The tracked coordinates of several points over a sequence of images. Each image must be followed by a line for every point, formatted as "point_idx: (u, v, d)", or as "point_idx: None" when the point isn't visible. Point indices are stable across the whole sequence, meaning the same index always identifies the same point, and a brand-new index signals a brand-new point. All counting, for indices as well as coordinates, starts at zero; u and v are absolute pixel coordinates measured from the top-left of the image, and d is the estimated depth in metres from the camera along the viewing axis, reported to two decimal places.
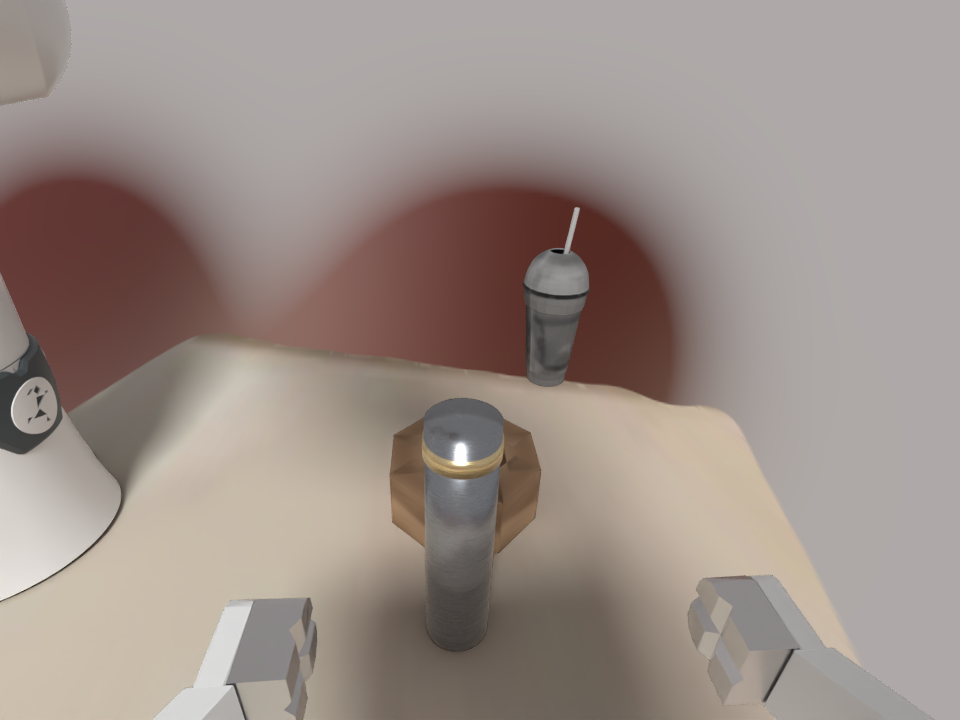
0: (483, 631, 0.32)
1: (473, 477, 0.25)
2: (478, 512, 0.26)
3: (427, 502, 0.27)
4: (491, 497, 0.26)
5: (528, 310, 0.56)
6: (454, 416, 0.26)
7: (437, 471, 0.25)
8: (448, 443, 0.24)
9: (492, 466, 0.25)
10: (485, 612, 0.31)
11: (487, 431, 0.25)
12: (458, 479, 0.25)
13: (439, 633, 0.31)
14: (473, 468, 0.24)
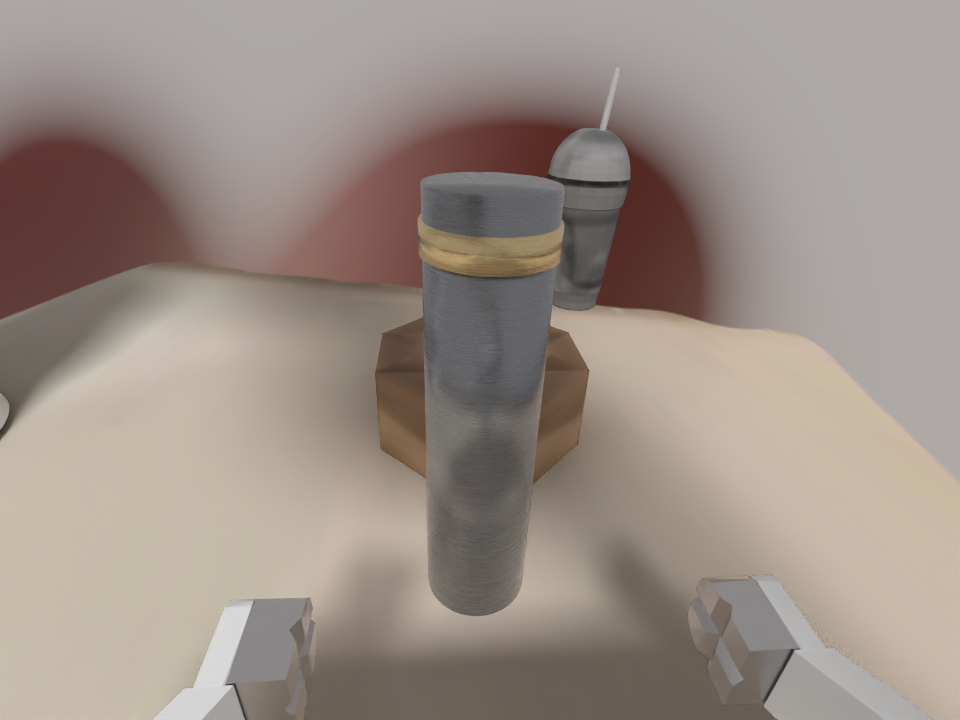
0: (517, 585, 0.21)
1: (512, 272, 0.13)
2: (518, 355, 0.15)
3: (428, 347, 0.16)
4: (541, 331, 0.15)
5: None
6: (475, 180, 0.14)
7: (446, 265, 0.14)
8: (467, 196, 0.13)
9: (546, 258, 0.14)
10: (521, 553, 0.20)
11: (538, 190, 0.13)
12: (486, 278, 0.13)
13: (449, 586, 0.20)
14: (514, 255, 0.13)
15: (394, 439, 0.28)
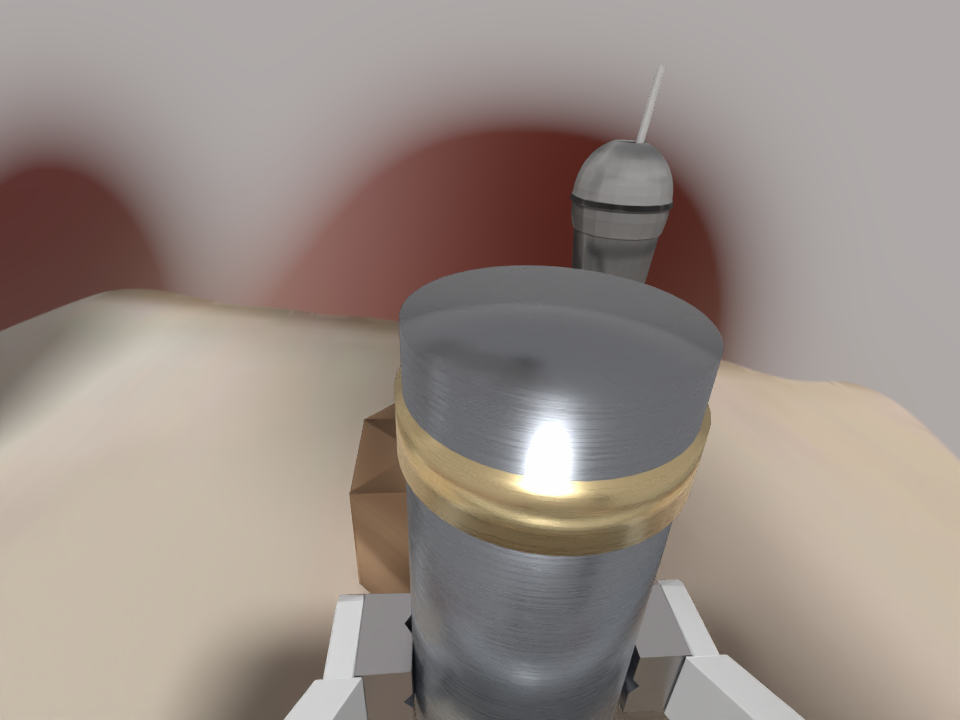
0: None
1: (610, 545, 0.06)
2: (603, 660, 0.07)
3: (418, 612, 0.08)
4: (647, 600, 0.07)
5: (578, 237, 0.37)
6: (518, 304, 0.07)
7: (456, 519, 0.06)
8: (513, 392, 0.05)
9: (682, 496, 0.06)
10: None
11: (669, 348, 0.06)
12: (549, 553, 0.06)
13: None
14: (617, 509, 0.06)
15: (377, 579, 0.20)
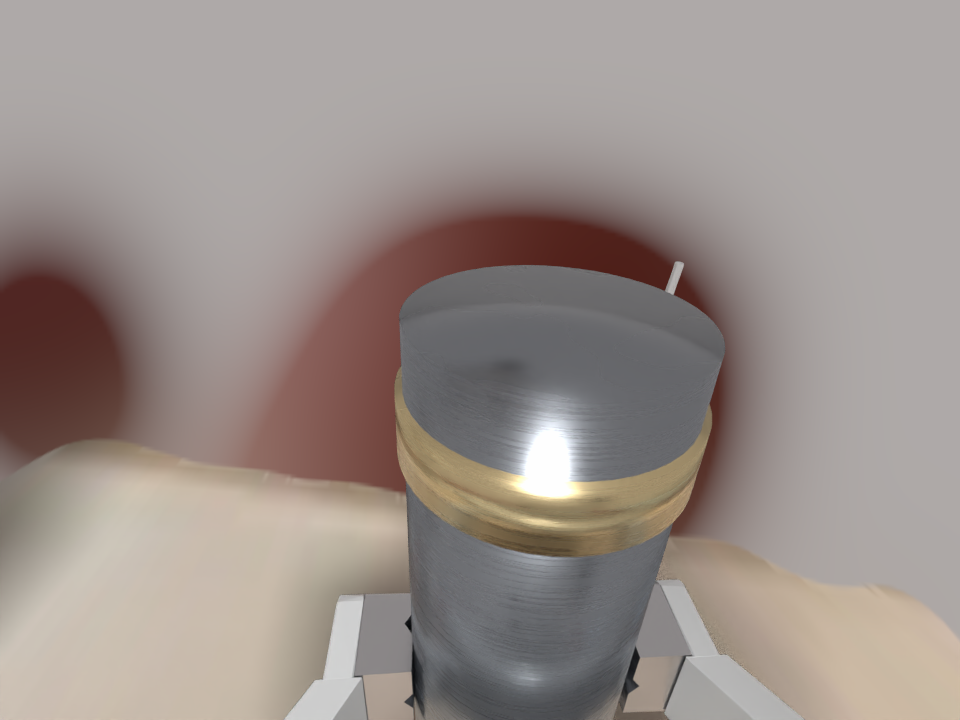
0: None
1: (612, 547, 0.06)
2: (603, 661, 0.07)
3: (418, 613, 0.08)
4: (647, 601, 0.07)
5: None
6: (518, 304, 0.07)
7: (456, 520, 0.06)
8: (513, 392, 0.05)
9: (683, 497, 0.06)
10: None
11: (670, 349, 0.06)
12: (549, 554, 0.06)
13: None
14: (618, 510, 0.06)
15: None
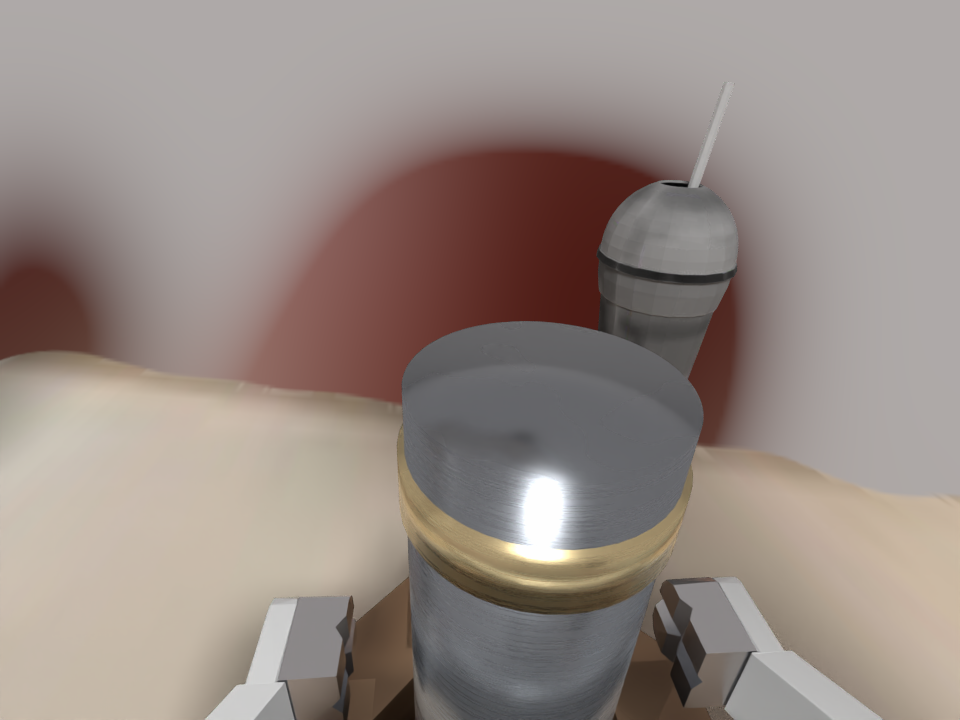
0: None
1: (597, 604, 0.06)
2: (593, 701, 0.08)
3: (419, 651, 0.08)
4: (634, 643, 0.08)
5: (608, 308, 0.28)
6: (513, 369, 0.07)
7: (454, 578, 0.06)
8: (506, 473, 0.05)
9: (664, 555, 0.07)
10: None
11: (652, 421, 0.06)
12: (541, 611, 0.06)
13: None
14: (603, 572, 0.06)
15: None
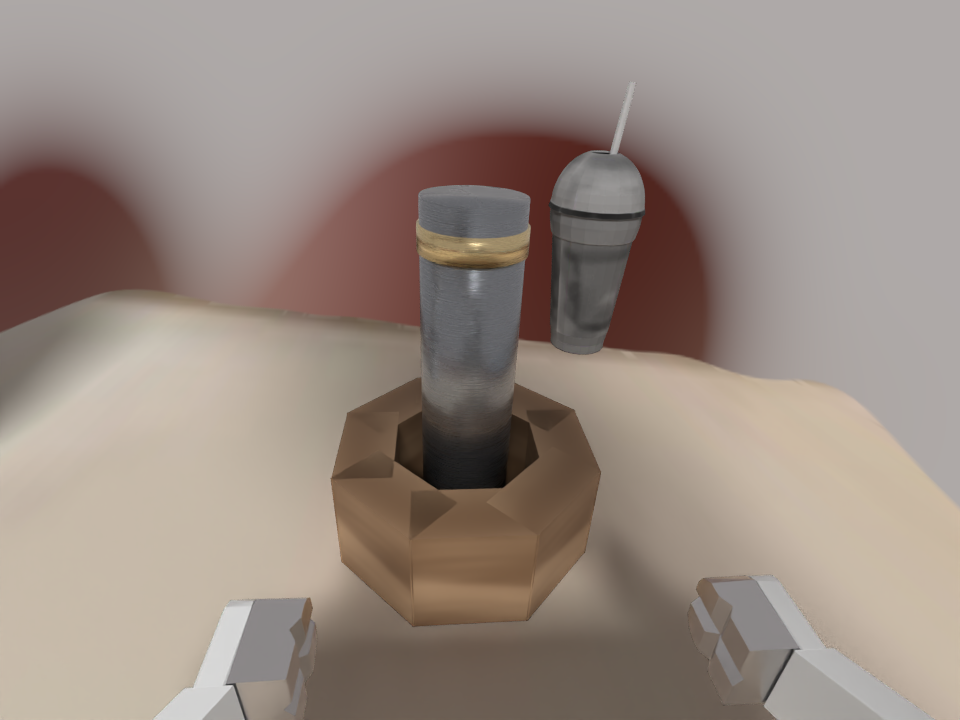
0: None
1: (488, 265, 0.17)
2: (494, 330, 0.19)
3: (424, 324, 0.20)
4: (512, 312, 0.19)
5: (556, 242, 0.39)
6: (461, 193, 0.18)
7: (437, 259, 0.18)
8: (453, 206, 0.17)
9: (515, 254, 0.18)
10: None
11: (508, 202, 0.18)
12: (468, 269, 0.17)
13: None
14: (489, 252, 0.17)
15: (356, 557, 0.22)
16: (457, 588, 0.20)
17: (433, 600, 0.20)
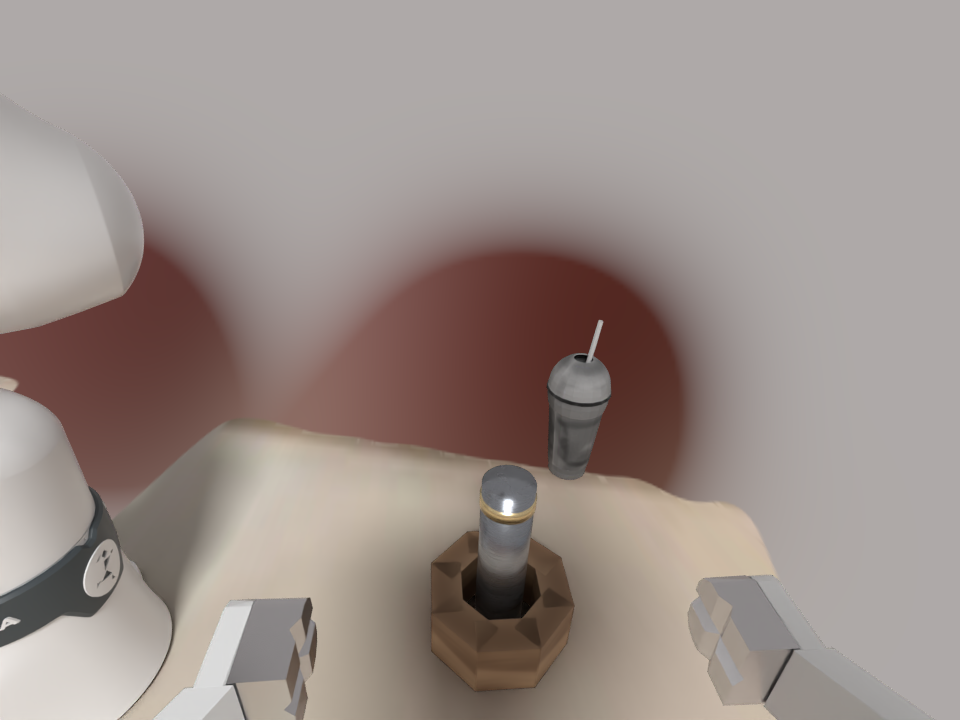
0: None
1: (516, 523, 0.36)
2: (518, 545, 0.38)
3: (482, 538, 0.39)
4: (527, 535, 0.38)
5: (552, 411, 0.58)
6: (502, 480, 0.37)
7: (492, 519, 0.36)
8: (501, 501, 0.35)
9: (529, 515, 0.37)
10: (519, 615, 0.43)
11: (526, 492, 0.36)
12: (507, 524, 0.36)
13: None
14: (517, 517, 0.36)
15: (442, 651, 0.41)
16: (499, 673, 0.39)
17: (486, 678, 0.39)
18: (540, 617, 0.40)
